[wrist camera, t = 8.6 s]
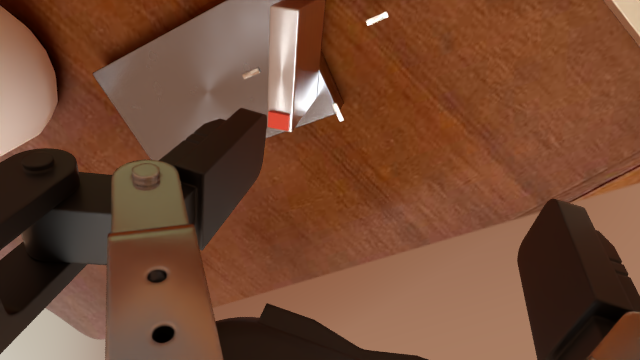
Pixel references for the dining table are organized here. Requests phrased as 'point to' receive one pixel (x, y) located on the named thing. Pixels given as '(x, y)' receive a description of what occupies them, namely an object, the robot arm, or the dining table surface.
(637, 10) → the button block
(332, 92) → the base
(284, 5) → the spout
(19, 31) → the cup
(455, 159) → the dining table surface
